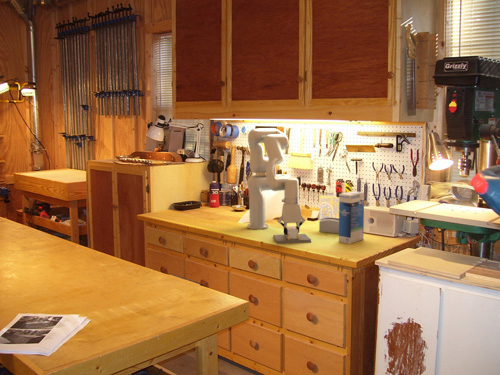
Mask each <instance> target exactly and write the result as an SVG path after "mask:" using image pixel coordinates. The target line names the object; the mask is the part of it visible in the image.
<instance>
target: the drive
mask: <svg viewBox="0 0 500 375" xmlns="http://www.w3.org/2000/svg"><path fill="white" fill-rule="evenodd" d="M286 228H287V235H285V236H286V237H287V239H288V235H290V239H297V235H298V234H299V233H298V229H297V228H296V225H293V226H290V225H289V226H288V225H287V226H286Z"/></svg>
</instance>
